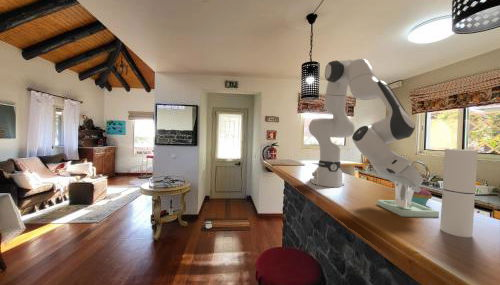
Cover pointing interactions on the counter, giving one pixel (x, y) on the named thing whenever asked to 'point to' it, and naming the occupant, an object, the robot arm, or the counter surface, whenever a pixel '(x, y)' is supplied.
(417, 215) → the tray
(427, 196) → the cupcake
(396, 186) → the white upright block
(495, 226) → the counter surface
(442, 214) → the cylindrical container
